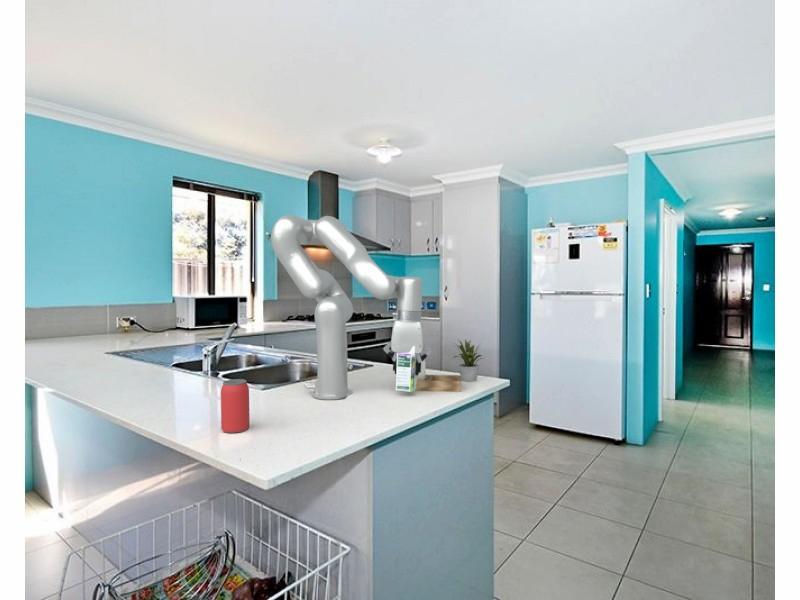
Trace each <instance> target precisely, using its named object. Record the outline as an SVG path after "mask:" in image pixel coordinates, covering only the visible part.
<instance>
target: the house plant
mask: <svg viewBox="0 0 800 600" xmlns="http://www.w3.org/2000/svg"><path fill="white" fill-rule="evenodd" d="M457 341H458V342H459V343H460V345H458V344H457V343H456V342H455V343H454V342H451V341H450V343H452V346H453V347H455V348H457V350H458V351H459V354H458V355H453V357H452V360H453V359H455V358H457V359H458V360H460V362H461V364H458V367H459V368H458V369H459V375H461V382H464V383H474V382H477V380H478V374H479V366H480V365H479V364H477V363H478V361H480V360H481V359H483V357H481V356H484V355H482V354H480V353H479V352H478V350H479V349H478V348H479V347H480V345H481V343H479V345H478V346H477V347H476V349H475V345H474V344H473V345H471V343H472V342H471V341H472V340H468V341H467V339H464V344H463V342H462V341H461V340H459V339H457ZM453 344H455V345H453ZM477 354H478V355H477ZM459 355H460V356H459ZM458 357H460V358H461V359H462V360H463V361H462V360H461V359H460V358H458ZM479 357H481V358H479ZM463 362H464V363H463Z"/></svg>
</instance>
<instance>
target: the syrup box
mask: <svg viewBox="0 0 800 600" xmlns="http://www.w3.org/2000/svg"><path fill="white" fill-rule="evenodd" d="M416 362H417V357H416V354H415V346H413V347H412V349H411V350H410V352H409V353H397V370H396V374H395V375H396V376H395V391H397V392H407V393H414V392H415V391H414V390H415V389H416V384H417V376H416Z"/></svg>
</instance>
